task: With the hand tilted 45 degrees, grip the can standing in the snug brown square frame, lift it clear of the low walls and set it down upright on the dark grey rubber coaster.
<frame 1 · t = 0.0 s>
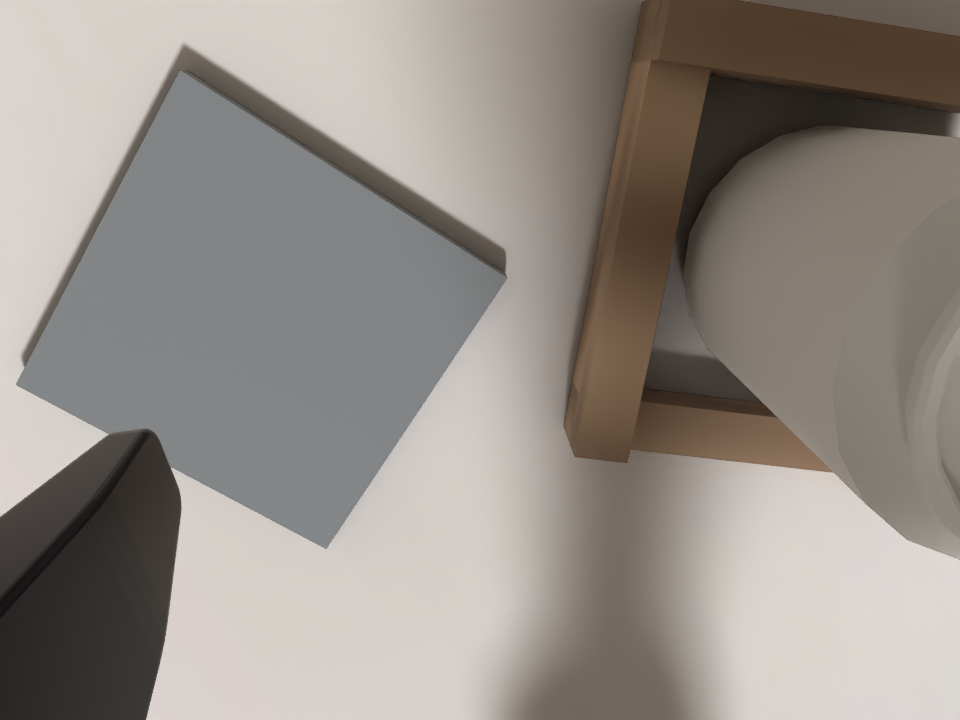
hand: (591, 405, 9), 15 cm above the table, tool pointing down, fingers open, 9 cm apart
coaster: (264, 326, 24), on the table
can: (800, 256, 25), resting in brown square frame
brown square frame: (803, 258, 24), on the table
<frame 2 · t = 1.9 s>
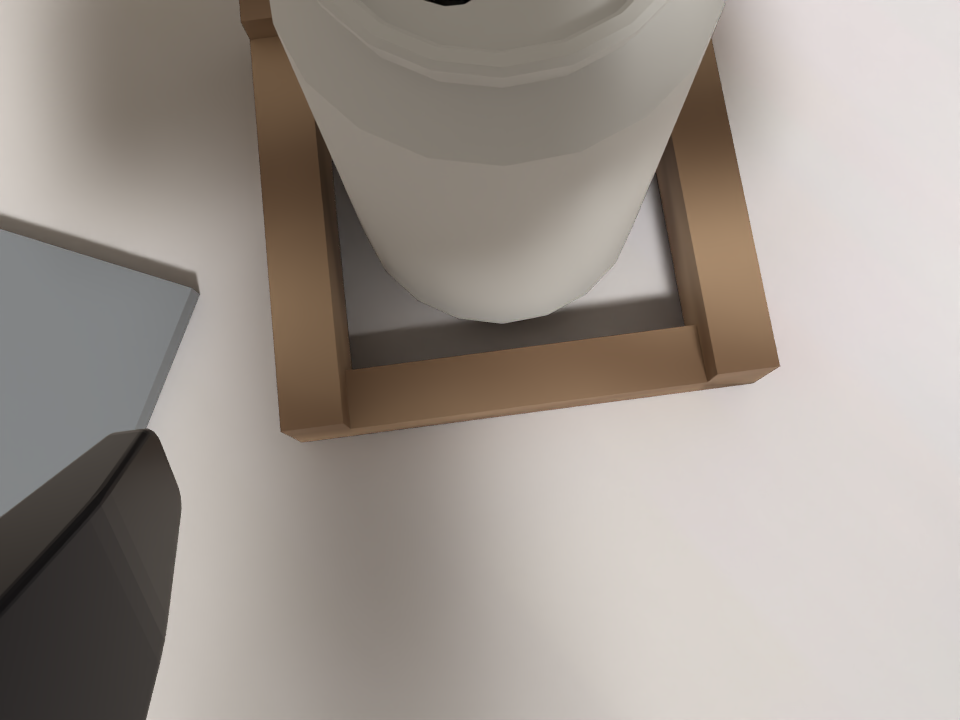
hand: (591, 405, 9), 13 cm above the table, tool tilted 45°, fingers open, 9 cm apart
can: (497, 204, 24), resting in brown square frame
brown square frame: (497, 201, 24), on the table
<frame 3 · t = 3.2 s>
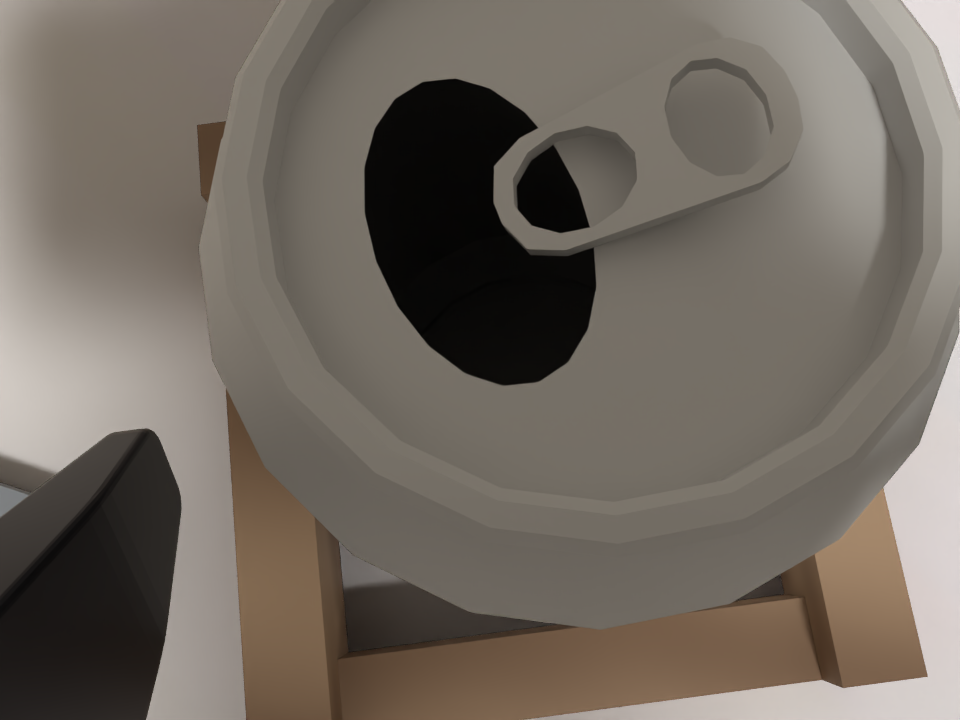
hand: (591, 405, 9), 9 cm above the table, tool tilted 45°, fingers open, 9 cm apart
can: (534, 409, 19), resting in brown square frame
brown square frame: (535, 408, 18), on the table
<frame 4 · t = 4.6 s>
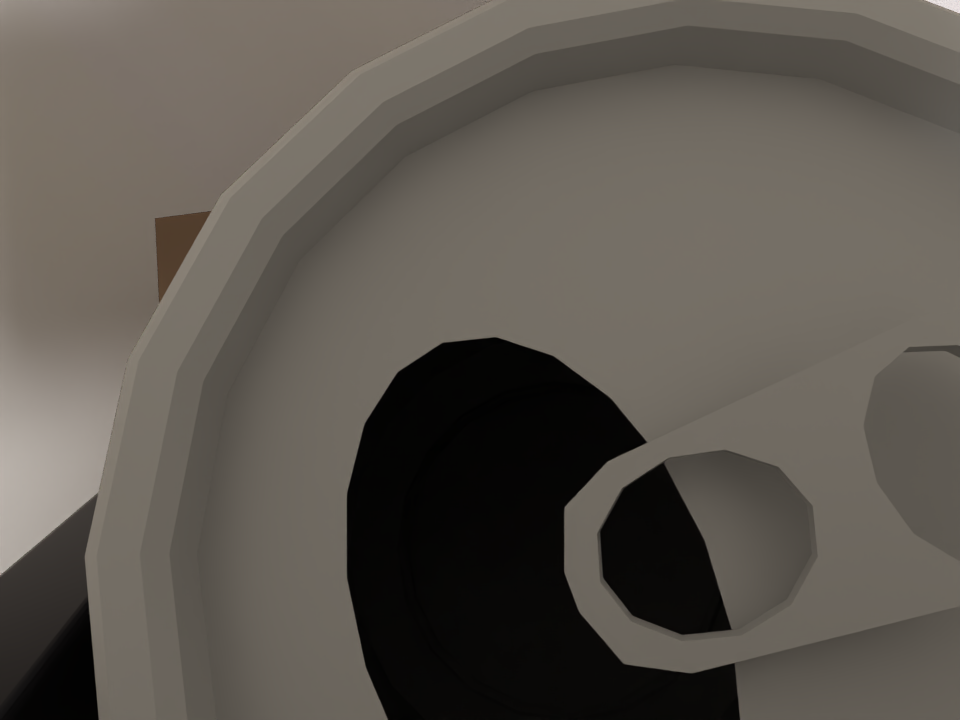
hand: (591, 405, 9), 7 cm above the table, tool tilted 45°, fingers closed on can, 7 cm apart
can: (561, 544, 16), resting in brown square frame, touching gripper
brown square frame: (562, 544, 15), on the table
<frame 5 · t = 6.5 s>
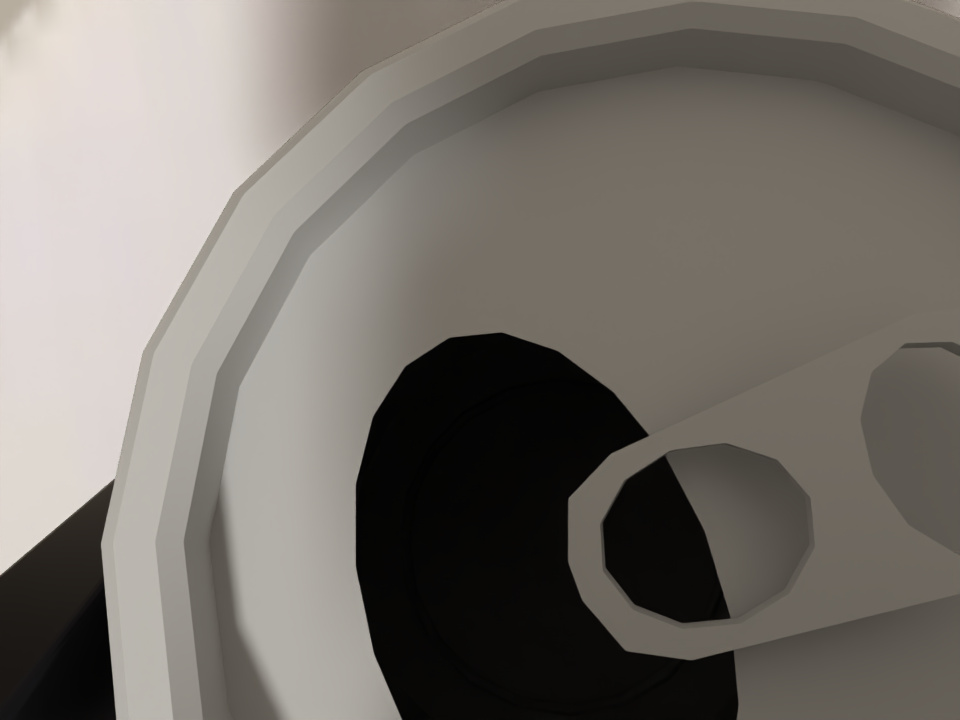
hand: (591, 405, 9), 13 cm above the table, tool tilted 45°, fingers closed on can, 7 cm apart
can: (561, 540, 16), point 6 cm above the table, touching gripper
when the fingers open (9 cm above the table, at t = 8.4 s): can stays where it is, resting on coaster.
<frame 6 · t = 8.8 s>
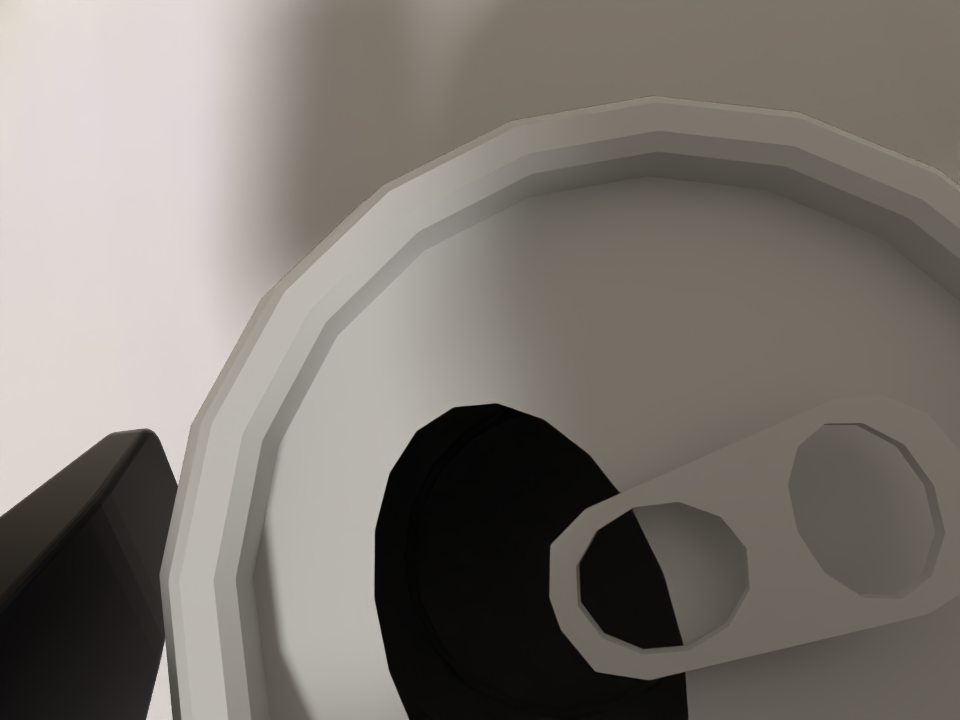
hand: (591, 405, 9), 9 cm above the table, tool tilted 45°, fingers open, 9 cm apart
can: (557, 553, 17), resting on coaster
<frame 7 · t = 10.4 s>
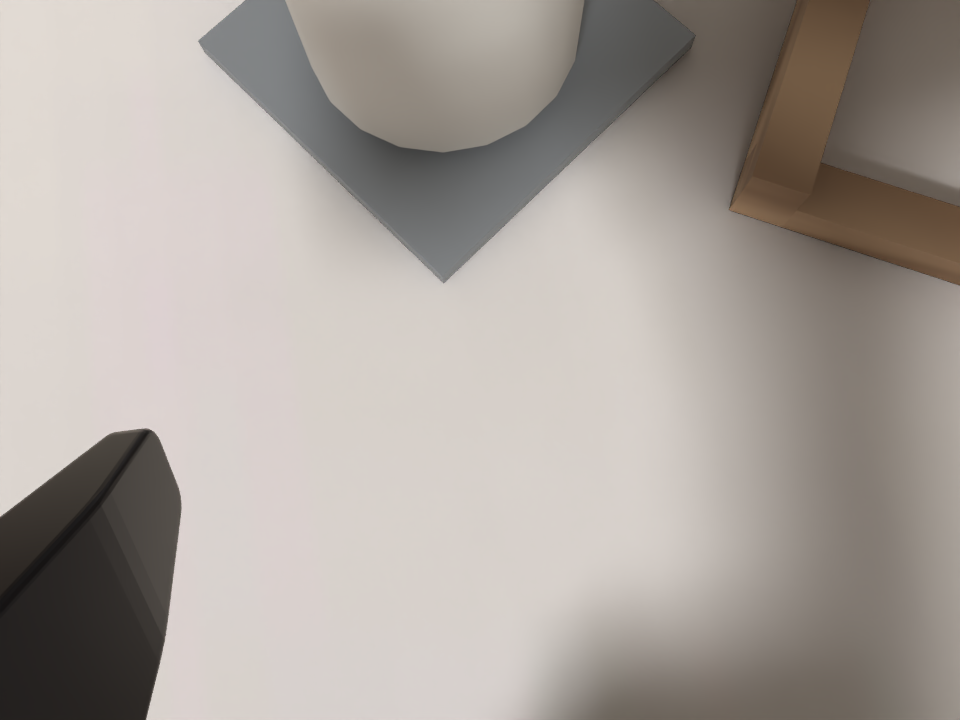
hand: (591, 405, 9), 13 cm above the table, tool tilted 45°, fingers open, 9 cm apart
coaster: (446, 50, 25), on the table
can: (445, 48, 24), resting on coaster
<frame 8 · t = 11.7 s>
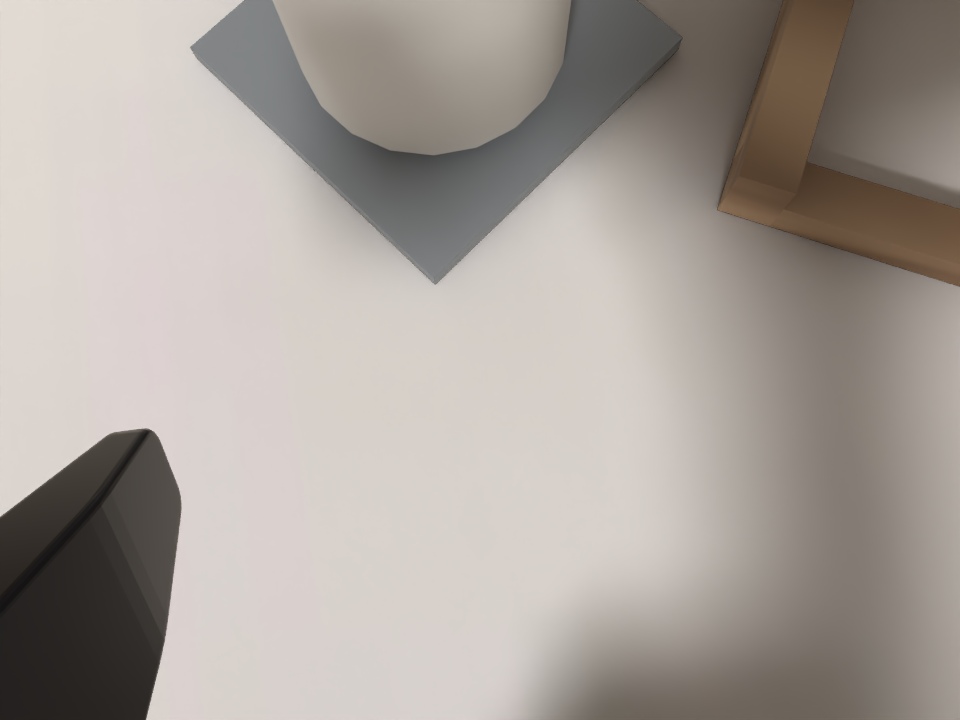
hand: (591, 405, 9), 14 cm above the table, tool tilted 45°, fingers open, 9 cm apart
coaster: (436, 54, 25), on the table
can: (434, 52, 24), resting on coaster
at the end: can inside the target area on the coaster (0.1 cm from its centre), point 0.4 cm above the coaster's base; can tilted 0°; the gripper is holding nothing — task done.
